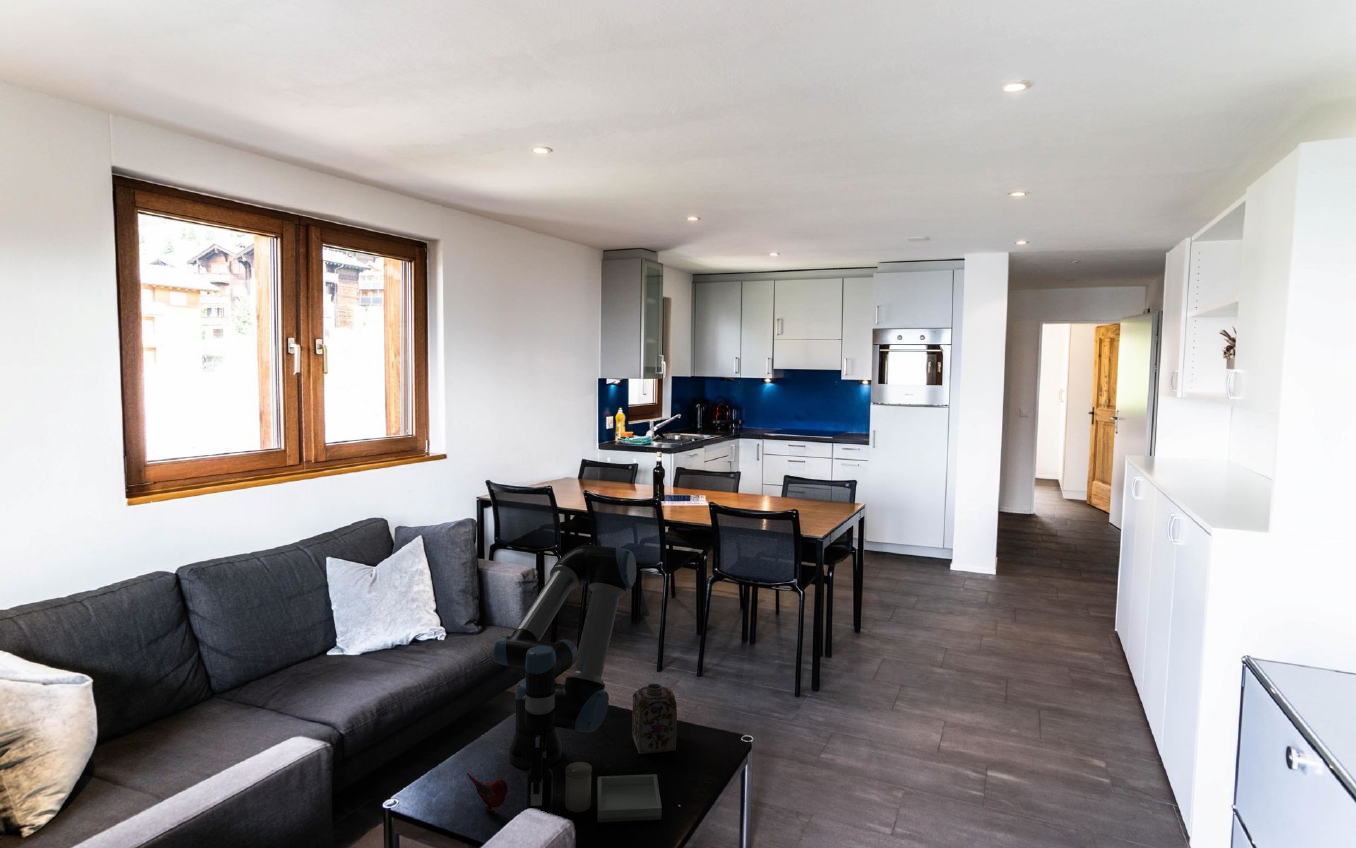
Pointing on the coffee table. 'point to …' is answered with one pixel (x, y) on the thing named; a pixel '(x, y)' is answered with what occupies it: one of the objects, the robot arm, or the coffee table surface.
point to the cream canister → (578, 786)
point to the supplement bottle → (546, 787)
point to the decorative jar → (654, 719)
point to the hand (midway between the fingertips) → (538, 790)
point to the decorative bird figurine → (491, 792)
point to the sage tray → (628, 798)
